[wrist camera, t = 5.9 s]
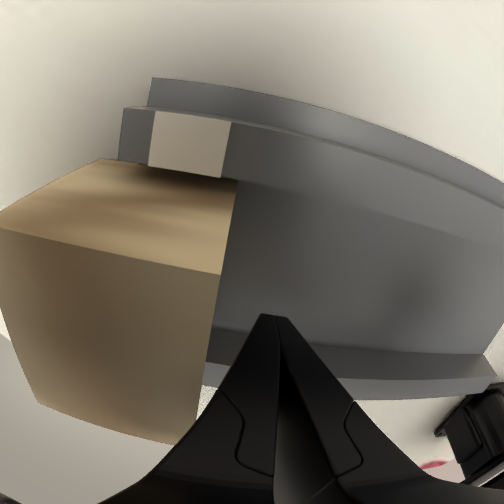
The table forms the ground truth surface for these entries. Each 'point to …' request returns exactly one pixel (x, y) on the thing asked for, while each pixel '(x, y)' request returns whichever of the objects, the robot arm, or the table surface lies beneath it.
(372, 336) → the chute
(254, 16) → the table surface
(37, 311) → the block
